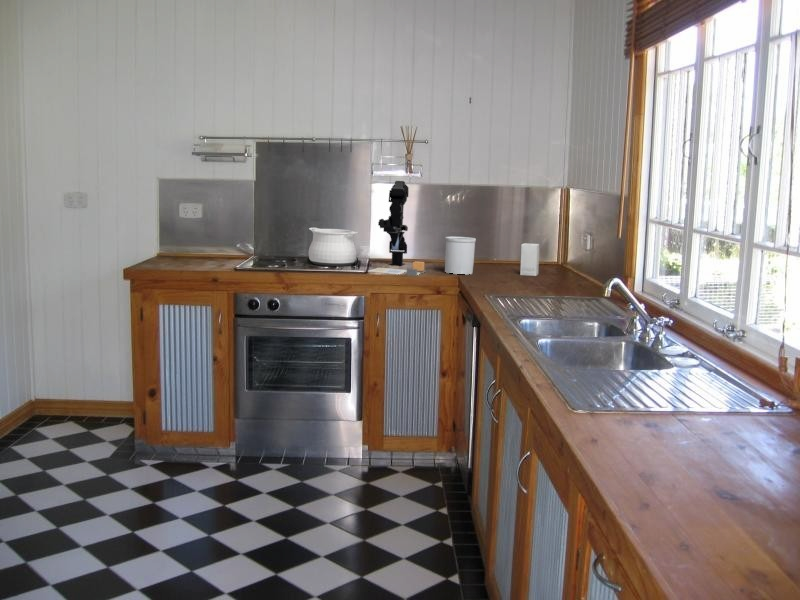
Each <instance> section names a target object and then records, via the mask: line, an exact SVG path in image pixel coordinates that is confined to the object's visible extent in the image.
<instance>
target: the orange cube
mask: <svg viewBox="0 0 800 600" xmlns="http://www.w3.org/2000/svg"><path fill="white" fill-rule="evenodd" d="M412 264H413V265H412V269H417V271H423V270H425V261H418V260H417V261H416V260H415V261H413V263H412Z"/></svg>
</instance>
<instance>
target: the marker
mask: <svg viewBox="0 0 800 600" xmlns="http://www.w3.org/2000/svg"><path fill="white" fill-rule="evenodd" d="M398 245H399V237H398V240H397V242H396V245H395V246H393V245H392V250H391V251H398Z"/></svg>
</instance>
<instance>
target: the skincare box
mask: <svg viewBox="0 0 800 600" xmlns="http://www.w3.org/2000/svg"><path fill="white" fill-rule="evenodd" d="M520 249H521V250H520V271H519V272H520V274H519V275H520V276H528V277H529V276H530V277H536V276H538V275H539V268H540V267H539V265H540V243H529V242H528V243H522V244H521V245H520Z"/></svg>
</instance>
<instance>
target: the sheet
mask: <svg viewBox="0 0 800 600" xmlns="http://www.w3.org/2000/svg"><path fill="white" fill-rule="evenodd" d="M367 272H368V273H378V274H387V275H388V274H390V275H398V274H399V275H402V274H405V273H407V269H402V268H401V269H399V268H388V267H377V268H376V267H375V268H372V269H369V270H367ZM404 272H405V273H404Z"/></svg>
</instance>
